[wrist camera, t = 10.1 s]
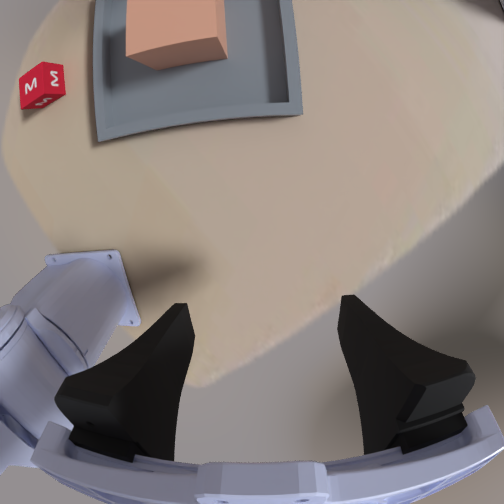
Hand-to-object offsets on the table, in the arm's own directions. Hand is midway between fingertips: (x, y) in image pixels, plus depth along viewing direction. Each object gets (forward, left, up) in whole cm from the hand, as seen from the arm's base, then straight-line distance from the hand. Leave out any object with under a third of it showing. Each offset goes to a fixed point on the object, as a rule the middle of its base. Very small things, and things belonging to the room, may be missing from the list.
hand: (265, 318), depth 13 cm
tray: (-4, +16, -9) cm, 19 cm away
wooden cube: (-4, +16, -9) cm, 19 cm away
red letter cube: (-17, +16, -10) cm, 25 cm away
